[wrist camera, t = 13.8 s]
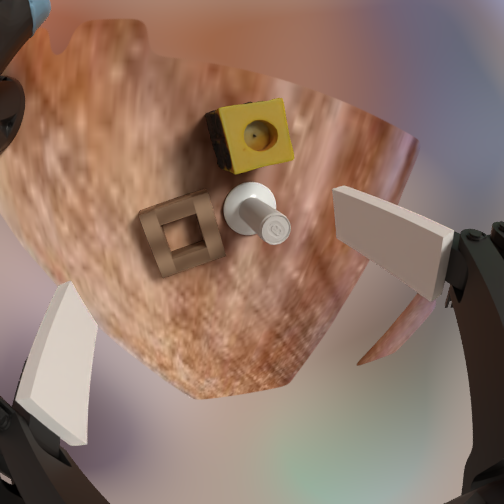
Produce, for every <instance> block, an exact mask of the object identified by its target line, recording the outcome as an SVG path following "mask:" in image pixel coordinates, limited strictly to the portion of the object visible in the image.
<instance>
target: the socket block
mask: <svg viewBox="0 0 504 504" xmlns="http://www.w3.org/2000/svg"><path fill="white" fill-rule="evenodd" d="M193 214H196V217H197V220H198V223H199V226H200V230H201V233H202V236H203V239H204V240H203V241H200V242H197V243H194V244H191V245H189V246H186V247H183V248H180V249H177V250H174V251H171V250H170V247H169V244H168V242H167V239H166V236H165V233H164V230H163V228H162V225H164V224H167V223H170V222H172V221H175V220H178V219H181V218H184V217H187V216H190V215H193ZM139 218H140V221H141V224H142V227H143V229H144V232H145V235H146V237H147V240H148V242H149V245H150V248H151V250H152V253H153V255H154V258H155V260H156V263H157V265H158V267H159V270H160V272H161V275H162V277H163V278H165V277H167V276H170V275H173V274H176V273H179V272H182V271H185V270H187V269H190V268H193V267H196V266H199V265H202V264H205V263H208V262H210V261H213V260H216V259H219V258H222V257H225V256H226V254H225V250H224V247H223V243H222V240H221V236H220V232H219V229H218V225H217V222H216V218H215V214H214V211H213V207H212V204H211V200H210V196H209V192H208V191H207V190H206V189H202V190H199V191H196V192H193V193H190V194H187V195H183V196H180V197H177V198H174V199H171V200H169V201H166V202H163V203H160V204H157V205H154V206H151V207H149V208H146V209H143V210H140V213H139Z"/></svg>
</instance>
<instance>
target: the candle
mask: <svg viewBox="0 0 504 504" xmlns="http://www.w3.org/2000/svg"><path fill="white" fill-rule="evenodd" d="M205 117H206V118H207V125H208V130H209V132H210V137H211V141H212V145H213V147H214V150H215V153H216V157H217V164H218V165H219V167H220V168H221V169H223V170H227V171H229V172H231V173H233V174H239V173H243V172H247V171H251V170H254V169H257V168H260V167H264V166H268V165H273V164H279V163H283V162H288V161H292V160H293V159H294V152H293V148H292V144H291V141H290V136H289V131H288V125H287V120H286V114H285V108H284V102H283V99H282V98H277V99H272V100H269V101H258V102H255V103H252V102H248V103H244V104H241V105H232V106H227V107H221V108H218V109H217V110H215V111H211V112H209V113H206V114H205Z"/></svg>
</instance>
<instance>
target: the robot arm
mask: <svg viewBox="0 0 504 504" xmlns="http://www.w3.org/2000/svg"><path fill="white" fill-rule="evenodd" d="M50 10H51V5H50V1H49V0H0V75H1V74H2V73H3V71H4V70H5V68H6V67H7V65H8V64H9V63H10V61H11V60H12V59H13V57H14V56H15V55H16V54H17V52H18V51H19V50H20V49H21V47H22V46H23V45H24V44H25V43H26V41H27V40H28V39H29V38H31V37H32V36H33V35H34V33H35V31H36V30H37V29H38V28H39V27H40V25H41V24H42V23H43V22H44V21H45V20H46V19H47V17H48V16H49V13H50ZM24 109H25V95H24V91H23V88H22V86H21V84H20V83H19V82H18V81H17V80H16V79H14V78H12V77H9V76H0V152H1V151H2V150H4V149H5V148H6V147H7V146H8V145H9V144H10V143H11V141H12V140H13V138H14V137H15V135H16V133H17V132H18V129H19V127H20V125H21V122H22V119H23V115H24ZM332 192H333V202H334V212H335V224H336V238H337V239H339V240H340V241H342V242H343V243H345V244H347V245H348V246H350V247H351V248H353V249H354V250H356V251H357V252H359V253H361V254H362V255H364V256H365V257H367V258H368V259H370V260H371V261H373V262H374V263H376V264H377V265H379V266H380V267H382V268H383V269H385V270H386V271H387V272H389V273H390V274H392V275H393V276H395V277H396V278H398V279H399V280H401V281H402V282H403V283H405V284H406V285H408V286H409V287H411V288H412V289H413V290H415V291H416V292H417V293H419V294H420V295H422V296H423V297H424V298H426V299H427V300H429V301H430V302H432V301H433V300H435V299H436V298H437V297H438V296H440V295H441V294H442V291H443V287H444V283H445V281H447V282H448V283H450V287H449V291H448V295H447V299H446V302H445V308H447V307H448V304H449V301H452V304H451V308H452V307H453V308H454V311H455V315H456V319H457V323H458V327H459V331H460V335H461V340H462V344H463V349H464V355H465V360H466V366H467V372H468V379H469V387H470V396H471V406H472V422H473V448H472V451H471V454H470V456H469V458H468V459H467V462H466V465H465V469H464V477H463V486H462V495H461V496H459V497H457V498H455V499H453V500H451V501H449V502H447V503H444V504H504V222H502V221H501V222H495V223H493V225H492V230H491V234H490V235H486V234H485V233H483V232H481V231H478V230H475V229H465V230H463V231H461V234H459V233H457V232H455V231H453V230H452V229H450V228H448V227H445V226H443V225H441V224H439V223H437V222H434V221H432V220H430V219H428V218H426V217H424V216H421V215H419V214H417V213H414V212H412V211H410V210H407V209H405V208H402V207H400V206H397V205H395V204H392V203H390V202H387V201H385V200H382V199H380V198H377V197H374V196H372V195H369V194H366V193H364V192H361V191H358V190H355V189H352V188H350V187H347V186H341V187H338V188H334V189H332ZM97 329H98V325H97V323H96V322H95V320H94V319H93V317H92V316H91V314H90V312H89V311H88V309H87V307H86V306H85V304H84V303H83V301H82V299H81V298H80V296H79V294H78V292H77V291H76V289H75V287H74V285H73V284H72V282H71V281H68V282H66V283H63V284H61V285H59V286H58V288H57V290H56V292H55V294H54V296H53V298H52V300H51V302H50V304H49V307H48V309H47V311H46V314H45V316H44V318H43V320H42V322H41V325H40V327H39V330H38V332H37V335H36V338H35V340H34V343H33V345H32V348H31V351H30V354H29V356H28V358H27V359H26V361H25V364H24V367H23V370H22V372H23V373H21V376H20V381H19V383H18V386H17V390H16V393H15V397H14V401H13V405H12V407H11V406H10V405H9V404H8V403H7V402H6V401H5V400H4V399H3V398H2V397H1V396H0V473H2V474H3V475H5V476H7V477H8V478H10V479H11V481H12V485H11V484H9V483H7V482H5V481H4V480H2V479H1V477H0V504H110V503H109V502H108V501H107V500H106V499H105V498H104V497H103V496H102V495H101V493H100V492H99V491H98V490H97V489H96V488H95V487H94V486H93V484H92V483H91V482H90V481H89V480H88V479H87V477H86V476H85V475H84V474H83V472H82V471H81V470H80V469H79V467H78V466H77V465H76V463H75V462H74V461H73V459H72V458H71V457H70V455H69V454H68V453H67V451H66V450H65V449H64V448H62V447H61V446H60V438H61V439H62V440H64V441H65V442H67V443H68V444H69V445H71V446H75V445H85V444H87V419H88V402H89V401H88V400H89V389H90V379H91V370H92V362H93V354H94V348H95V341H96V335H97Z"/></svg>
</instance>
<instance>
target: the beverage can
mask: <svg viewBox="0 0 504 504" xmlns="http://www.w3.org/2000/svg"><path fill="white" fill-rule="evenodd" d="M239 215H240V217H241V219H242V220H243V221H244V222H245V223H246V224H247V225H248V226H249V227H250V228H251V229H252V230H253V231H254V232H255V233H256V234H257V235H258V236H259V237H260V238H261V239H262V240H264V241H265V242H267V243H269V244H272V245H277V244H280V243H282V242H284V241H285V240H286V239H287V237H288V236H289V234H290V230H291V225H290V222H289V220H288V219H287V218H286V216H285V215H283V214H282V213H280V212H279V211H277V210H275V209H274V208H272V207H271V206H269V205H268V204H266V203H264V202H263V201H261V200H260V199H258V198H255V197H250V198H247V199H245V200H244V201H243V202H242V203H241V205H240V207H239Z"/></svg>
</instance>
